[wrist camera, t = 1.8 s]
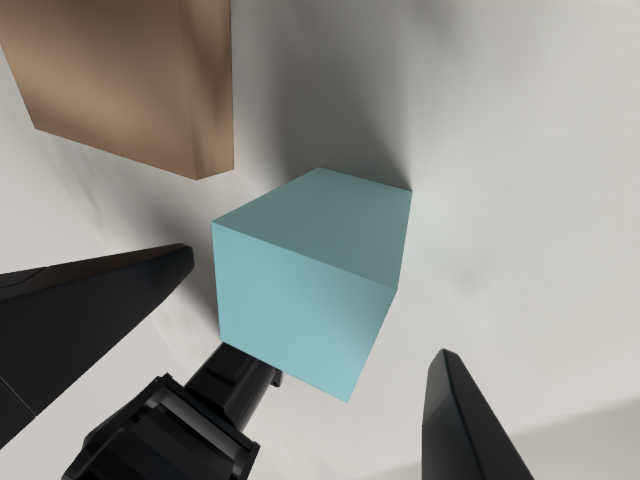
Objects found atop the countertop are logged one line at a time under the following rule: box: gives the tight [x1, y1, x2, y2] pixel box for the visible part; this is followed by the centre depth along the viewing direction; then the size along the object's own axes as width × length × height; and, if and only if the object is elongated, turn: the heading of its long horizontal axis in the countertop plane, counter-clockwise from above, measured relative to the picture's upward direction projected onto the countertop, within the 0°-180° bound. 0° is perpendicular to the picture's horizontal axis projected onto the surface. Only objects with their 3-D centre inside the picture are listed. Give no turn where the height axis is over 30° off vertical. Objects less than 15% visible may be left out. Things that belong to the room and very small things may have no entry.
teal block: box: [211, 167, 412, 403], centre depth 10 cm, size 5×5×8 cm
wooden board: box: [0, 0, 234, 180], centre depth 12 cm, size 13×13×3 cm
